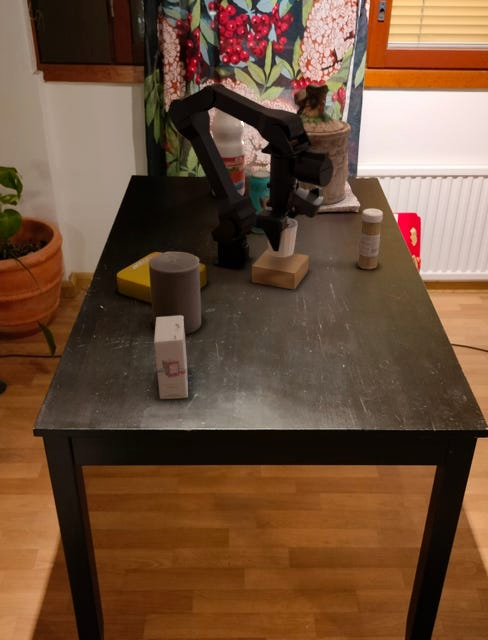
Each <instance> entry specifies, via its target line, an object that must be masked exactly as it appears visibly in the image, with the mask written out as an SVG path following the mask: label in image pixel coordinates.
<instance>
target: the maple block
mask: <svg viewBox="0 0 488 640" xmlns="http://www.w3.org/2000/svg"><path fill="white" fill-rule="evenodd" d="M309 256H310V255H308V254H303V253H302V254H301V253H296V252H293V254H292V255H291V256H288V257H275V256H272V255H270V254H269V253H268V248H267V249H266V250H265V251H264V252H263V253H262V254H261V255H260V256H259V257H258V258H257V260H256V261H254V263H253V264H252V265H251V283H257V284H261V285H266V286H270V287H271V286H273V287H277V288H281V289H282V288H283V289H288V290H295V289H296V288H297V287H298V286H299V284H300V282H301V281H302V280H303V279H304V277H305V276H306V275H307V273H308V272H309V258H310V257H309Z"/></svg>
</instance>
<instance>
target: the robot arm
mask: <svg viewBox="0 0 488 640" xmlns="http://www.w3.org/2000/svg"><path fill="white" fill-rule="evenodd" d="M212 109H217V111H218V110H220V111H222V112H224V113H226V114H228V115H230V116H232V117H234V118H236V119H238V120H240V121H242V122H244V124H246V125H248V126H250V127H252V128H253V129H254V130H256V131H257V132H258V134H259V135H260V138H262V139H263V140H264V141H266V142H267V144H266V146H265V147H263V148H262V149H261V150H260V152H261V153H262V154H265V155H270V157H269V172H270V181H269V182H267V188H270V190H269V200H268V201H267V202H266V207H272V210H266V209H264V210H263V211H261V212H260V213H259V214H258V215H257V214H256V212H258V211H257V209H256V208H255V207H254V205H253V202H252V199H251V197H250V195H246V196H244V195H243V196H242V195H241V194H239V193H238V191H237V190H236V187H235V185H234V183H233V181H232V179H231V177H230V174H229V172H228V170H227V168H226V166H225V164H224V161H223V159H222V157H221V155H220V153H219V151H218V148H217V146H216V144H215V142H214V140H213V135H212V134H211V133H212V132H211V115H210V112H209V111H211V110H212ZM167 115H168V118H169V120H170V122H171V123H172V125H173V126H174V128H175V130H176V132H177V133H178V134H180V135H181V136H182V137H183V138H185V140H187V141H188V142H189V143H190V145H191V147H192V150H193V152H194V154H195V156H196V158H197V160H198V162H199V164H200V166H201V169H202V171H203V173H204V175H205V178H206V179H207V181H208V184H209V186H210V189H211V190H213V192H214V194H215V198H216V200H217V218H218V222H219V224H218V226H217V227H216V228H214V229H213V230H212V231H211V232H210V233H211V237H212V241H214V242H216V243H217V260H215V262H214V265H215V266H221V267H226V268H232V269H237V270H241V269H242V268H243V267H244V266H245V265H246V263H248V262H249V260H250V259H251V257H250V243H248V237H247V236H248V235H251V234H252V232H253V231H252V229H253V228H254V227H255V228H259V229H263V231H264V233H263V234H265V236H266V239H267V241H268V240H269V242H270V245H271V247H272V249H273V251H276V252H278V251H279V247H280V243H281V237H282V232H283V230H285V229H286V228H287V227H288V226H289V224H287V222H288V218H292V219H294V220H296V218H297V216H299V215H300V214H303V215H305V216H306V217H307V218H309V219H314V218H315V216H316V215H317V214H319V212H318V211H319V209H320V206H321V204H322V203H323V198H324V197H322V190H321V188H319V187H317V186H321V187H326V186H327V185H328V184H329V183H330V181H331V178H332V175H333V170H334V166H333V163H332V160H331V159H330V158H329V152H326V151H317V150H312V148H313V147H314V146H313V144H312V142H311V140H310V138H309V136H308V134H307V132H306V130H305V128H304V126H303V122H302V118H301V117H300V116H299V115H298V114H297V112H292V111H289V110H285V109H279V108H271V107H266V106H264V105H262V104H261V103H259V102H256V101H254V100H252V99H251V98H248V97H246V96H245V95H243V94H240V93H238V92H236V91H234V90H232V89H231V88H228V87H226V86H225V85H224V84H223V83H220V82H215V83H211V84H207V85H205V86H203V87H202V88H200V89H199V90H198V91H196V92H194V93H191V94H189V95H185V96H182V97H178V98H175V99H173V100H171V102H170V103H169V105H168V110H167ZM295 141H298V142H299V143H298V144H296V145H294V146H291V143H293V142H295ZM301 182H304V183H308V184H313V185H317V186H315V187H314V188H312V189H311V190H310V191H308V190H309V189H306V190H304V189H302V188H301ZM213 192H212V193H213Z"/></svg>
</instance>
